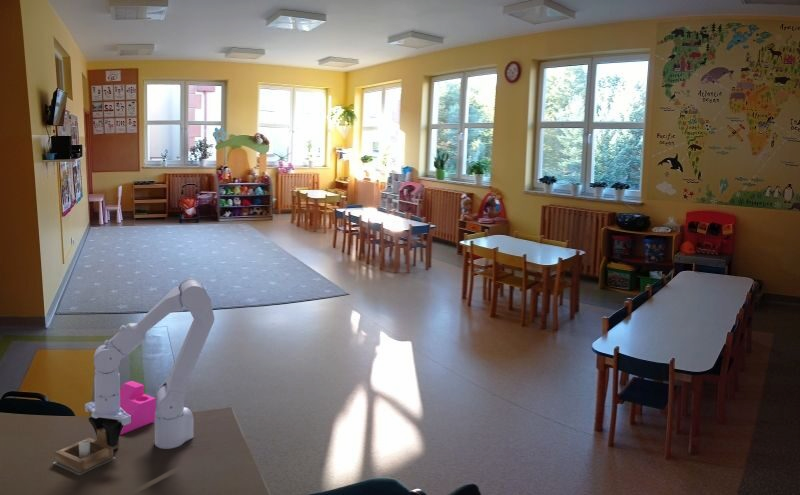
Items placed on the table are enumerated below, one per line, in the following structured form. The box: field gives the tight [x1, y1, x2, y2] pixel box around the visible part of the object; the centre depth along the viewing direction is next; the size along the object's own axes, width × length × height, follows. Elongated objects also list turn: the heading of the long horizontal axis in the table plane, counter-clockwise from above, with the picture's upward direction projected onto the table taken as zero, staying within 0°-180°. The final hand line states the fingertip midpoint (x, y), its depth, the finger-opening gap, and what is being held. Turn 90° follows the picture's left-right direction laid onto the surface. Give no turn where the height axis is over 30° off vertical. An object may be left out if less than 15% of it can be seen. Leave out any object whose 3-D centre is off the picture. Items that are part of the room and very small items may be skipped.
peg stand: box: [52, 440, 117, 476], centre depth 153 cm, size 10×10×6 cm
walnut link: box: [54, 427, 120, 472], centre depth 155 cm, size 13×9×6 cm
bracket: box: [120, 380, 157, 436], centre depth 174 cm, size 12×10×10 cm
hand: (108, 444), depth 159 cm, fingers closed on walnut link, 3 cm apart
